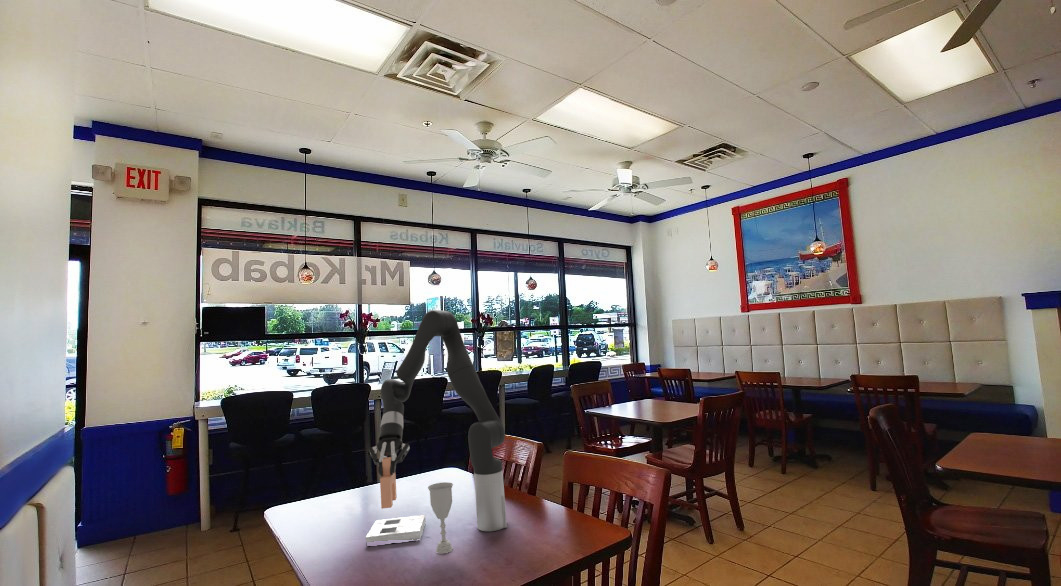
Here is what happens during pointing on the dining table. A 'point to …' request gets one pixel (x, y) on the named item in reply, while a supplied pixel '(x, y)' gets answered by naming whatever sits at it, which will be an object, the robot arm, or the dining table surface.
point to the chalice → (441, 510)
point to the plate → (397, 529)
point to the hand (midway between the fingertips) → (386, 474)
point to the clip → (387, 484)
